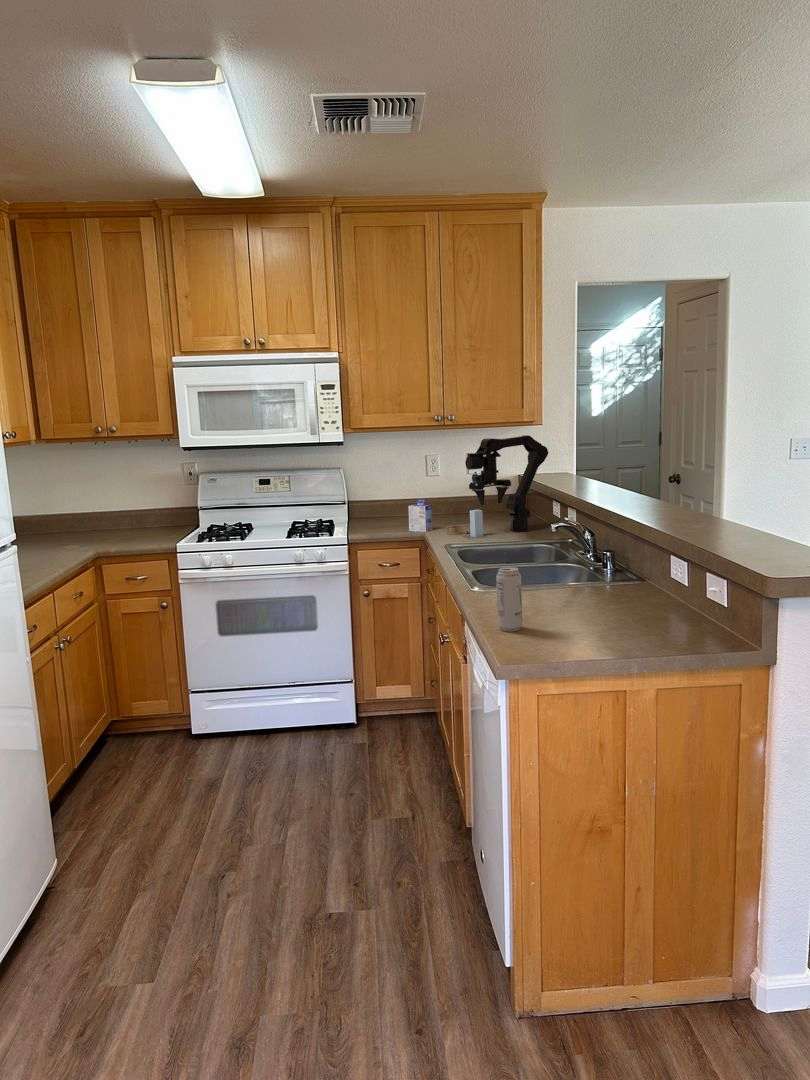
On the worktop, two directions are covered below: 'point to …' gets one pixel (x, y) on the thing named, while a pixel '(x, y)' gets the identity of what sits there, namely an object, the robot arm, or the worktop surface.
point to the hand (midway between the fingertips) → (490, 504)
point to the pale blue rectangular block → (476, 523)
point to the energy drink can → (509, 599)
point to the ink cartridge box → (420, 517)
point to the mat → (474, 537)
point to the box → (456, 530)
